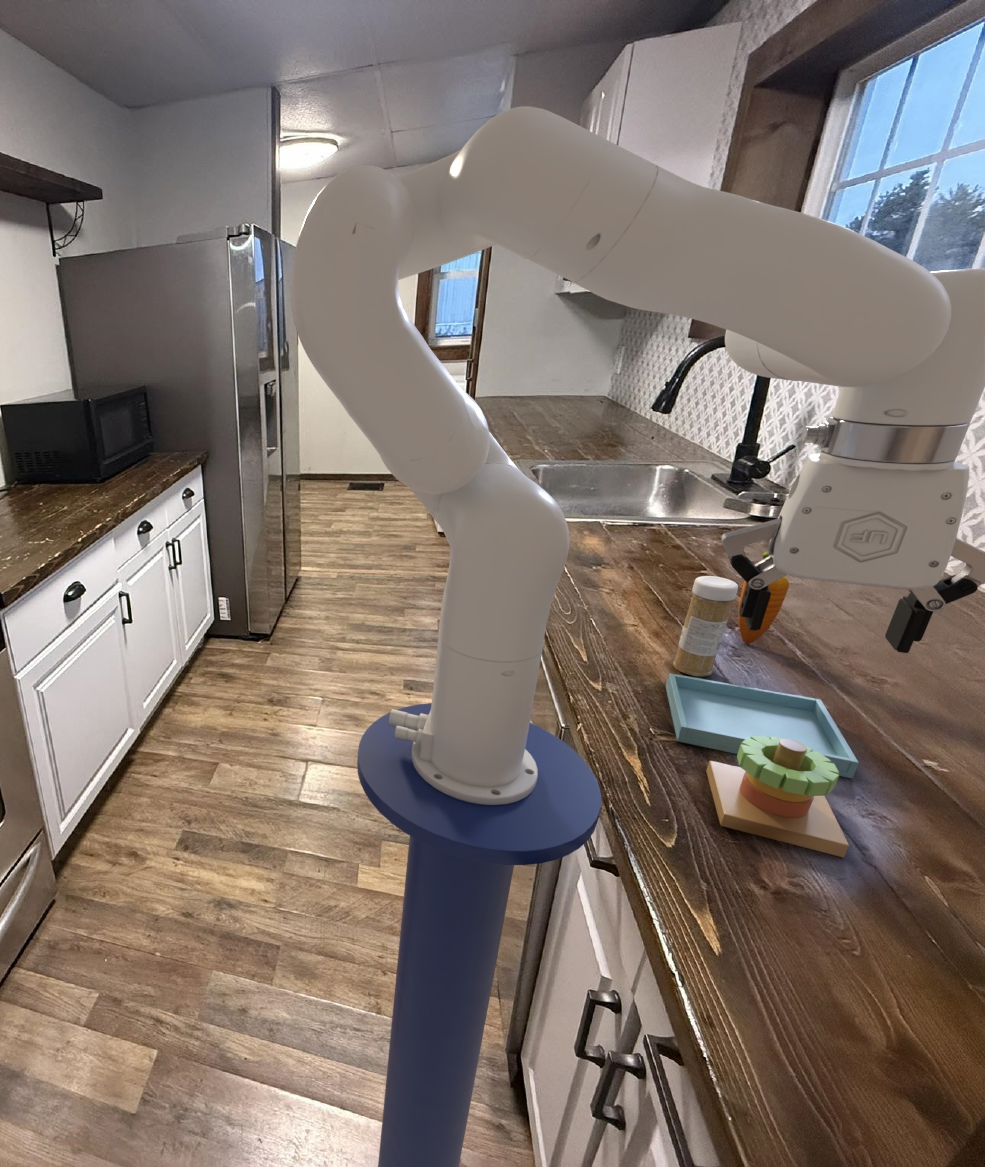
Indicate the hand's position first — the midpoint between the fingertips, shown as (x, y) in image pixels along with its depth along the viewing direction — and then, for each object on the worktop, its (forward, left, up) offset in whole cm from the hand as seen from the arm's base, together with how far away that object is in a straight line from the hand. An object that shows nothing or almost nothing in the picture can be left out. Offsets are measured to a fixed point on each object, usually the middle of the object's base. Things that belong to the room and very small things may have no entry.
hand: (820, 634), depth 56 cm
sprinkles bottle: (-2, +28, -20) cm, 35 cm away
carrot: (+6, +40, -20) cm, 45 cm away
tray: (+2, +15, -19) cm, 25 cm away
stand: (+1, -1, -19) cm, 19 cm away
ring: (+1, -1, -15) cm, 15 cm away
